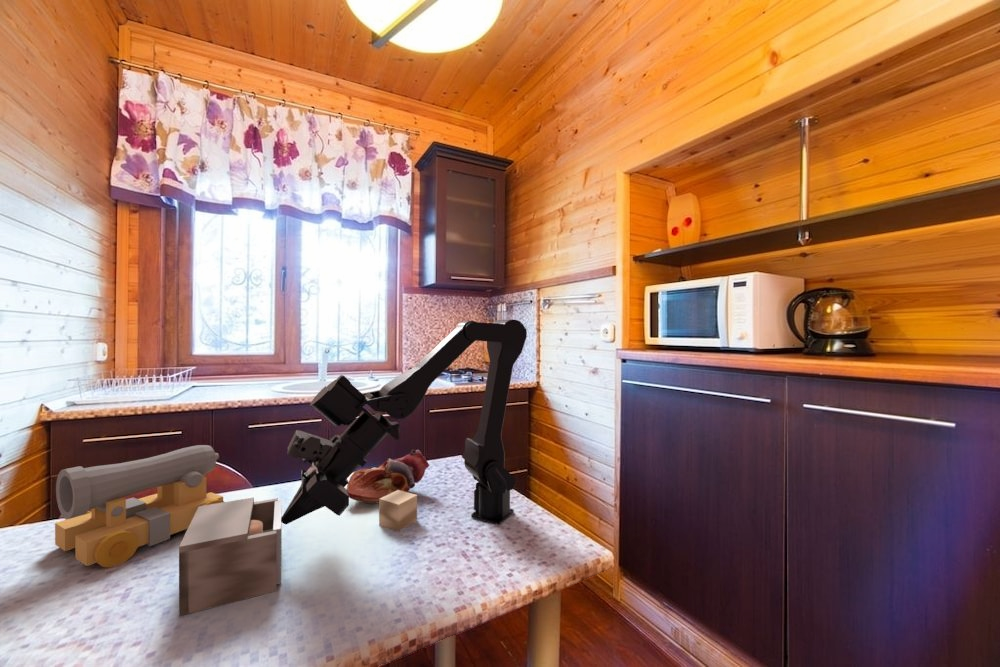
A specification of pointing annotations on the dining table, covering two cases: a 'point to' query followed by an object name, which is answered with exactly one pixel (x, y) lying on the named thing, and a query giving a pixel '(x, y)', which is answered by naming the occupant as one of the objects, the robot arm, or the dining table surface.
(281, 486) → the dining table surface
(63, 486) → the toy cannon
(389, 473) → the anatomical model
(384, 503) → the block
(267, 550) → the housing
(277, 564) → the drawer
